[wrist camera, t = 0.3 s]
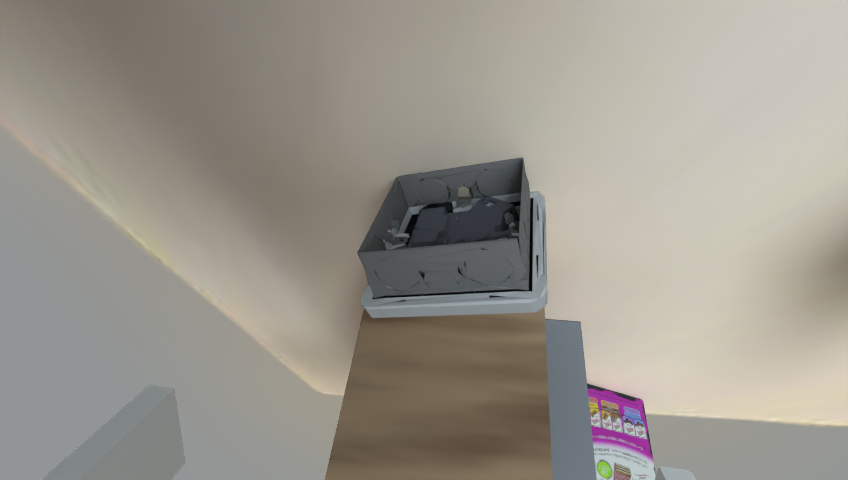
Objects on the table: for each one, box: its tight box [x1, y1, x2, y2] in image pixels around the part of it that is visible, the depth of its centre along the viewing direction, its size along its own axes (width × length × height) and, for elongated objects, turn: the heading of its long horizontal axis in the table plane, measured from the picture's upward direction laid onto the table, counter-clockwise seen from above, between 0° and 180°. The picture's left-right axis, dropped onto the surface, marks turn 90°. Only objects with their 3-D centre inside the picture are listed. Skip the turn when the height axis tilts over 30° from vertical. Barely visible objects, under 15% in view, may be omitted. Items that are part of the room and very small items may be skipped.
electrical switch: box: [357, 158, 547, 318], centre depth 23 cm, size 9×5×9 cm, turn 108°
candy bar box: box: [587, 384, 656, 480], centre depth 48 cm, size 11×5×16 cm, turn 66°
